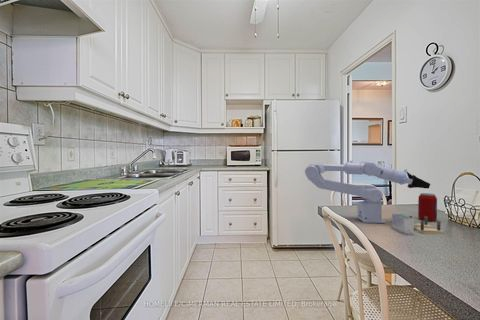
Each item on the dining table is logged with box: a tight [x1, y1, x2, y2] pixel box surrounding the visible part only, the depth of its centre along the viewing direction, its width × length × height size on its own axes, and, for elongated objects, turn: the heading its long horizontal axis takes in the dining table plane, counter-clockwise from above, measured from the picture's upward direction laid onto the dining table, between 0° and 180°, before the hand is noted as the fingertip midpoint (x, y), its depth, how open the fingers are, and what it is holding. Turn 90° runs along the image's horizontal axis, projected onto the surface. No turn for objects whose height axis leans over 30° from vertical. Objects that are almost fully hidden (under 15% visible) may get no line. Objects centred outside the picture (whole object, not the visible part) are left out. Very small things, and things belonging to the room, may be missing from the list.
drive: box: [391, 213, 415, 235], centre depth 93 cm, size 8×4×6 cm, turn 175°
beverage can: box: [417, 192, 438, 222], centre depth 108 cm, size 7×7×12 cm
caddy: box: [408, 215, 445, 235], centre depth 94 cm, size 10×8×4 cm
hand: (425, 184), depth 100 cm, fingers open, 7 cm apart
